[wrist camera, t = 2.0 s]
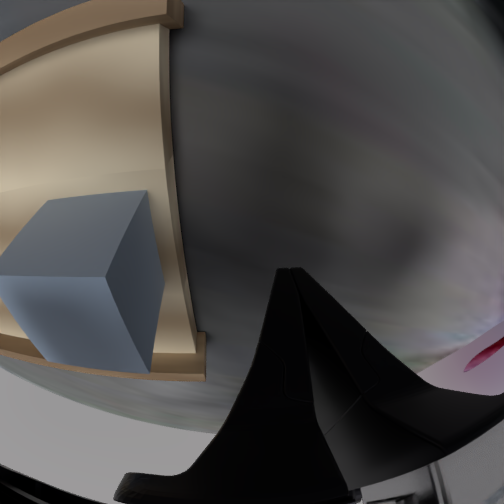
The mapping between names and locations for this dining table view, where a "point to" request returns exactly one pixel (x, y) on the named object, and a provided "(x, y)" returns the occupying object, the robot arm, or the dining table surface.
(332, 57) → the dining table surface
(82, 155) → the tray
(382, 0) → the dining table surface
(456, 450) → the robot arm
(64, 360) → the slate block
